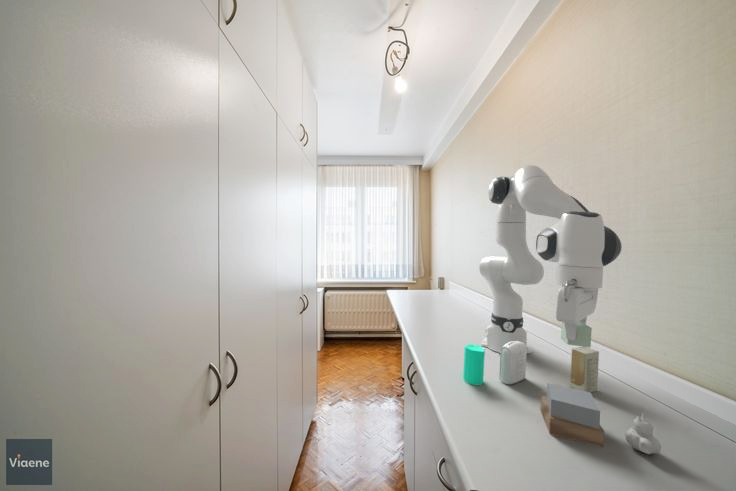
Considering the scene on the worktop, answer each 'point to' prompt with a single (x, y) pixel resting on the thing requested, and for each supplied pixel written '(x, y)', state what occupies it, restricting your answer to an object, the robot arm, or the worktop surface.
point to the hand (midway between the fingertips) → (575, 336)
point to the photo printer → (513, 362)
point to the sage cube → (578, 335)
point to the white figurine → (642, 436)
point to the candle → (473, 364)
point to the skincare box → (584, 369)
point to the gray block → (573, 405)
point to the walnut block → (570, 428)
